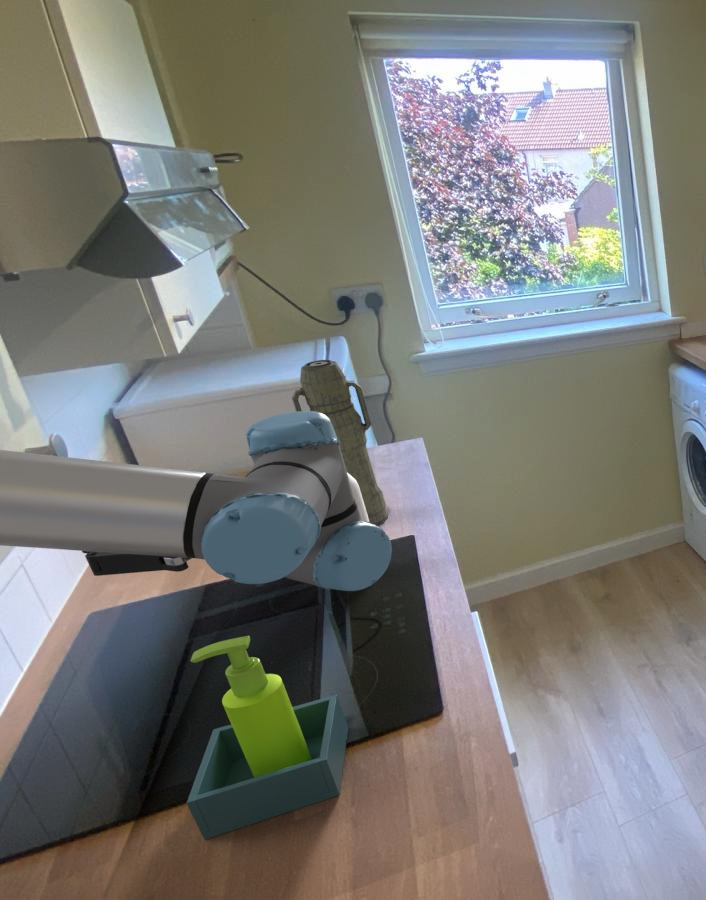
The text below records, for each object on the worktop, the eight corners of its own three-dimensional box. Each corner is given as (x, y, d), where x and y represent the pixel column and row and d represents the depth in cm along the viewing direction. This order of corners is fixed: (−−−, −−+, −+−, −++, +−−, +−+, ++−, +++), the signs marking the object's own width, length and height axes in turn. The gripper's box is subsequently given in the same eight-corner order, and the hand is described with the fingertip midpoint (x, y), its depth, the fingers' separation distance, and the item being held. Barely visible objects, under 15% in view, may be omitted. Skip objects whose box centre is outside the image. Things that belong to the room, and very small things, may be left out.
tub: (204, 840, 84) (186, 803, 82) (228, 763, 94) (213, 729, 92) (339, 795, 89) (326, 759, 87) (348, 727, 100) (336, 694, 97)
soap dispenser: (251, 769, 92) (195, 639, 85) (314, 748, 95) (266, 621, 88) (243, 802, 88) (184, 668, 80) (310, 780, 90) (259, 648, 83)
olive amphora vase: (402, 517, 157) (358, 360, 144) (341, 538, 150) (289, 373, 136) (389, 505, 163) (345, 352, 150) (329, 524, 156) (278, 365, 142)
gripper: (160, 629, 74) (35, 595, 81) (368, 518, 96) (255, 498, 103) (132, 566, 72) (4, 535, 78) (352, 466, 93) (237, 449, 100)
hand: (146, 514), depth 91 cm, fingers open, 13 cm apart
